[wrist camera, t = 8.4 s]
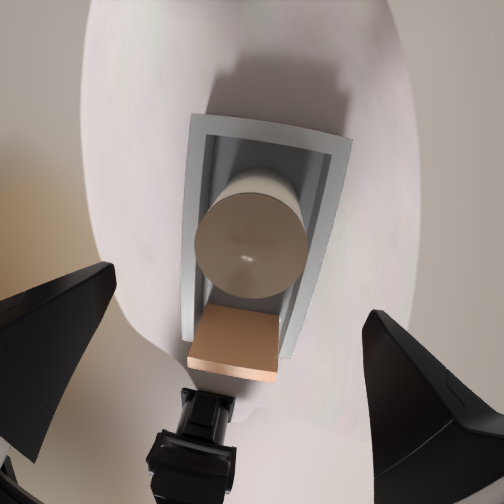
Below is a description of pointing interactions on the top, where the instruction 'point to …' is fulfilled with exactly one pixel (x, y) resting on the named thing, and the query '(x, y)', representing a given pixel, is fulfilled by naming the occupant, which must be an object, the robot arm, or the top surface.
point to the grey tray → (309, 197)
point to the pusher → (236, 343)
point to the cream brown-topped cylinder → (253, 235)
